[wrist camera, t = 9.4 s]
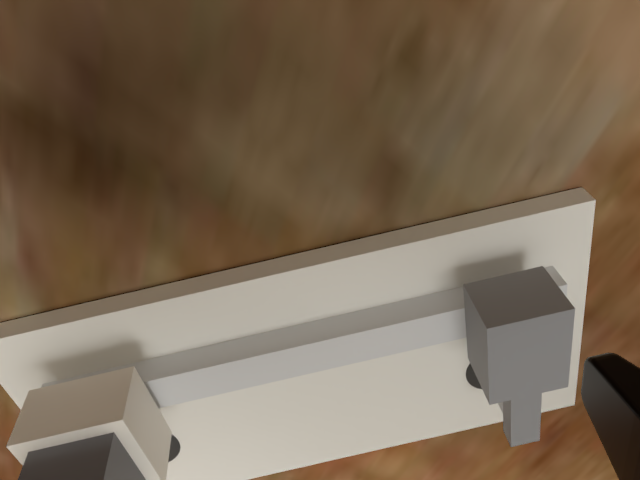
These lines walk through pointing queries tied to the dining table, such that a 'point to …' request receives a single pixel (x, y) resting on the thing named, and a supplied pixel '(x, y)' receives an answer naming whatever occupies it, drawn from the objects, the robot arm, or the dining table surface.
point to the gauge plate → (341, 341)
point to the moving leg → (92, 431)
